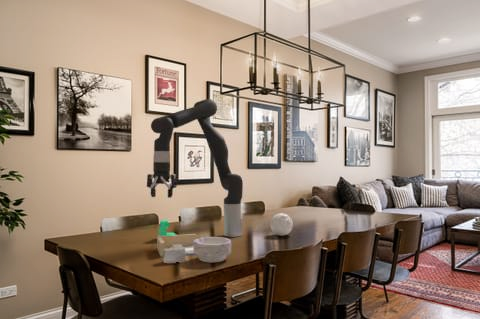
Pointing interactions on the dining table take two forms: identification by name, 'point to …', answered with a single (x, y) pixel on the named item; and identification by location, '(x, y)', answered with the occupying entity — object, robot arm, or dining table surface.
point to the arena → (171, 240)
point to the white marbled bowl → (212, 248)
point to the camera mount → (164, 228)
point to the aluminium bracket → (174, 254)
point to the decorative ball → (281, 224)
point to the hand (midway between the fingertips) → (161, 197)
